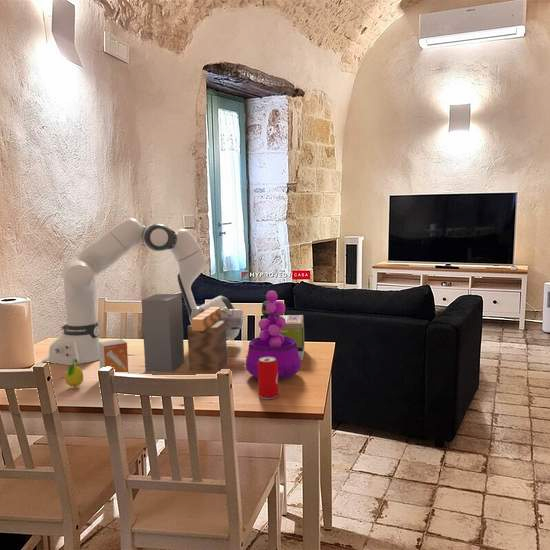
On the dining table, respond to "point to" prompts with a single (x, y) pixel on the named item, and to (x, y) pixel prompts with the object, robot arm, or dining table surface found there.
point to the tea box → (294, 331)
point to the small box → (114, 355)
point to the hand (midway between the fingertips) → (212, 309)
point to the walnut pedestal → (207, 347)
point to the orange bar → (206, 318)
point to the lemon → (74, 375)
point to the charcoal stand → (163, 332)
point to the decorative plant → (273, 342)
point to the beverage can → (267, 377)
